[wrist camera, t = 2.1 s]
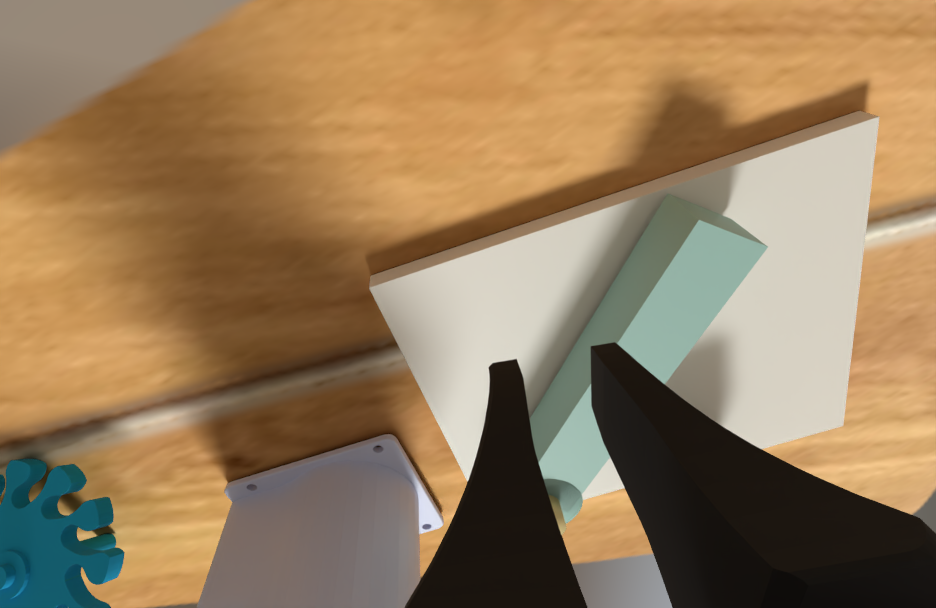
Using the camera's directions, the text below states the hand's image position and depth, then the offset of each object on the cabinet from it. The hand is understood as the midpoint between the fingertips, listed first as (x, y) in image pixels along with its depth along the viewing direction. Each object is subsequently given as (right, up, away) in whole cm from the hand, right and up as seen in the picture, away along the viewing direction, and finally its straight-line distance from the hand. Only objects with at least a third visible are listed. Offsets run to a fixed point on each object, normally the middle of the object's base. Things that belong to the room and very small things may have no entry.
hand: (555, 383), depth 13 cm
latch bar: (+3, -1, +11) cm, 11 cm away
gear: (-24, -8, +14) cm, 29 cm away
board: (+6, 0, +12) cm, 13 cm away
